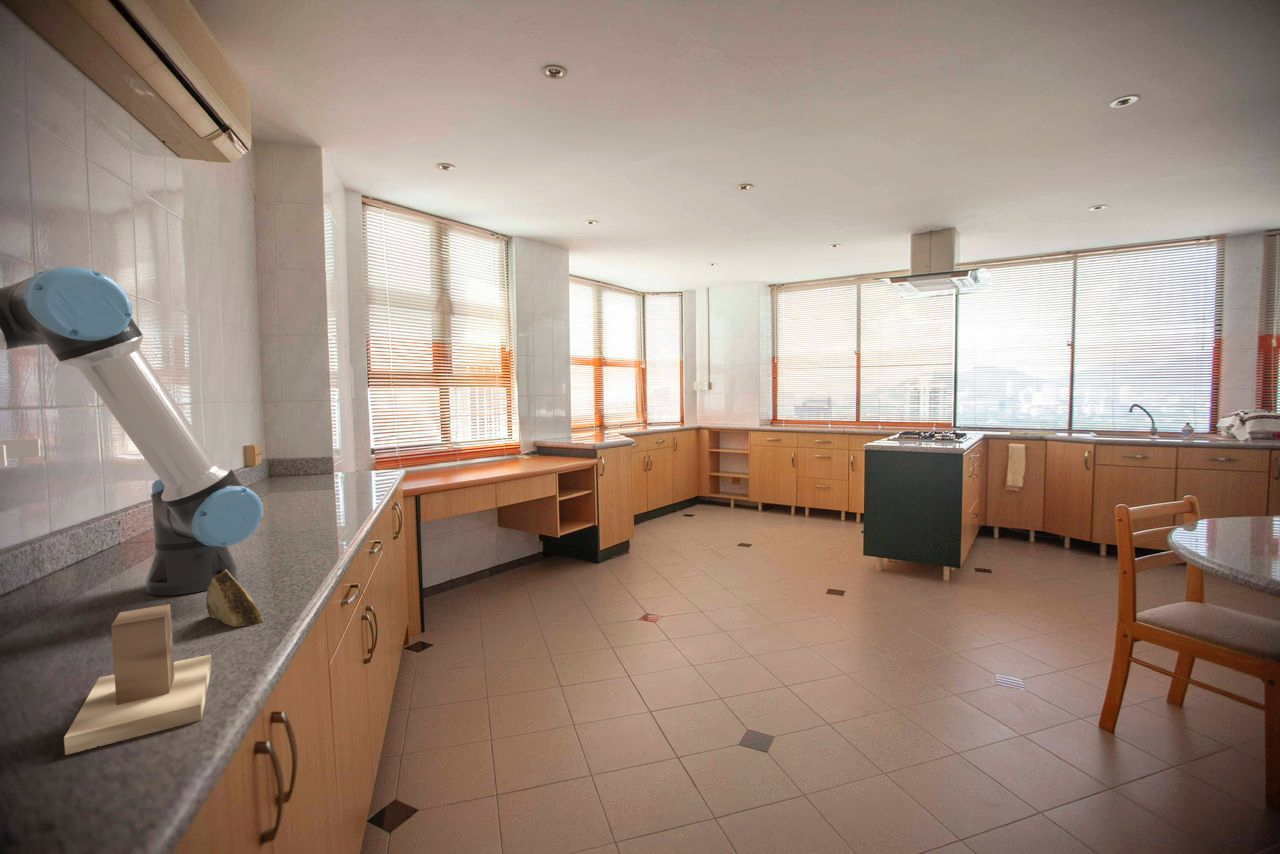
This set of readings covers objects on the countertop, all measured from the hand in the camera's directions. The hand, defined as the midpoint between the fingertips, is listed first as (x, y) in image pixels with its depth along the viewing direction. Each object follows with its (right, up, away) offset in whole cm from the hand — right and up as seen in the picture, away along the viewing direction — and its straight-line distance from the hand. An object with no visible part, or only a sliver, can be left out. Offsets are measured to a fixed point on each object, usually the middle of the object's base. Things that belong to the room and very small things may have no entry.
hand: (24, 451), depth 80 cm
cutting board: (+24, -32, -7) cm, 41 cm away
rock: (+15, -31, +20) cm, 40 cm away
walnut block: (+24, -30, -8) cm, 39 cm away
